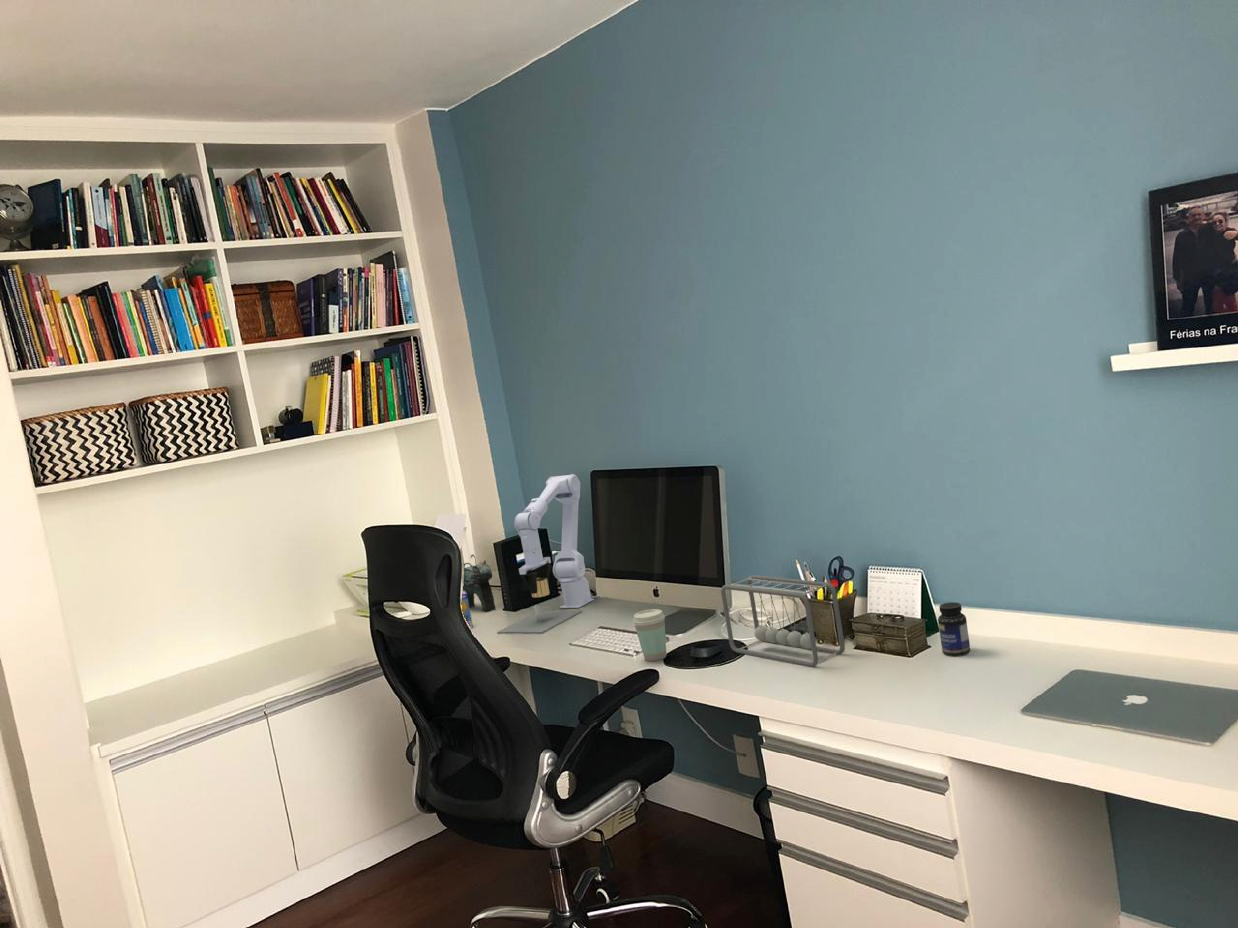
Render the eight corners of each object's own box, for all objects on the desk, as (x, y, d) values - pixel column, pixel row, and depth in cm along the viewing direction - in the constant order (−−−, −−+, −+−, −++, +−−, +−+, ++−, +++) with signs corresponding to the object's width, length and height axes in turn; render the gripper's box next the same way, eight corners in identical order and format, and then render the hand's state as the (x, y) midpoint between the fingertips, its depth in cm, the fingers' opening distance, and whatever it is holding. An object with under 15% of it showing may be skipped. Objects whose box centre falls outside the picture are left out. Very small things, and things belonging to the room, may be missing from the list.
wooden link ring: (538, 592, 322) (536, 577, 322) (552, 592, 319) (550, 577, 319) (528, 597, 317) (526, 582, 317) (542, 597, 314) (540, 581, 314)
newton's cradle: (847, 654, 236) (835, 582, 235) (817, 668, 230) (805, 594, 229) (759, 639, 261) (748, 573, 259) (730, 651, 255) (718, 584, 253)
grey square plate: (538, 612, 334) (534, 595, 333) (581, 611, 324) (578, 594, 323) (497, 633, 315) (493, 615, 315) (542, 633, 306) (538, 614, 305)
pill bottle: (937, 654, 225) (930, 607, 224) (951, 646, 229) (945, 600, 228) (961, 658, 220) (954, 610, 219) (976, 649, 224) (969, 602, 223)
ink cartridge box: (444, 635, 325) (436, 592, 324) (442, 631, 331) (434, 589, 329) (474, 628, 328) (466, 585, 327) (471, 624, 333) (463, 582, 332)
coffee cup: (676, 651, 263) (668, 607, 262) (664, 662, 255) (656, 617, 254) (647, 652, 266) (639, 609, 265) (634, 663, 259) (626, 618, 258)
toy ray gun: (500, 609, 349) (490, 553, 347) (484, 614, 346) (473, 558, 344) (474, 603, 365) (463, 551, 363) (458, 608, 362) (448, 555, 360)
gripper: (528, 554, 309) (536, 596, 310) (555, 543, 321) (562, 583, 322) (510, 555, 312) (518, 597, 314) (537, 544, 325) (545, 584, 326)
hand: (539, 590), depth 318 cm, fingers closed on wooden link ring, 6 cm apart
